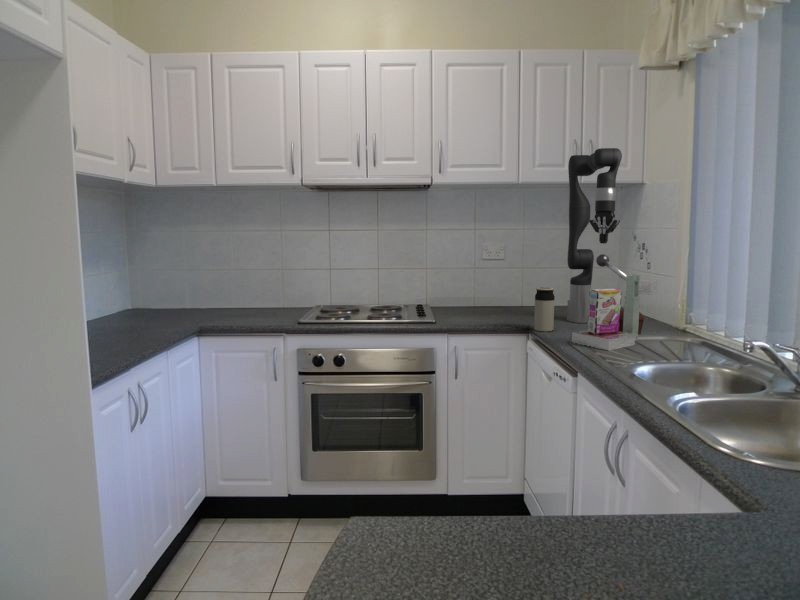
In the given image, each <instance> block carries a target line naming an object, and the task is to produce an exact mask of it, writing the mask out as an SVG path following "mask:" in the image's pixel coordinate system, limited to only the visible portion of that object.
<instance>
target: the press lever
mask: <svg viewBox="0 0 800 600" xmlns="http://www.w3.org/2000/svg"><path fill="white" fill-rule="evenodd" d="M595 263H596V265H598V266H599V267H600V268H601V267H603V268H604V267H607V269H609V270H610V271H612V272H613V273H615V275H617V276H619V277H620V278H621V279H623V281H625V282H626V277H627V275H628V274H626V273H625V272H623V270H621V269H619V268H618V267H616V266H615V265H614V264H613V263H611V262H610V258H609V256H608V255H607V254H604V253H602V254H600V255H598V256H597V257H596V260H595ZM657 286H658V281H657V280H654V279H653V280H652V279H651V280H650V279H640V280H639V283H638V294H639V295H640V294H641V295H648V296H649V295H650V296H651V295H656V294H657V290H658V289H657Z"/></svg>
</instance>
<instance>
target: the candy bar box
mask: <svg viewBox="0 0 800 600" xmlns="http://www.w3.org/2000/svg"><path fill="white" fill-rule="evenodd" d="M622 291H623V290H622V289H618V288H597V289H591V290H590V295H589V313H588V323H587V329H586V330H587V332H588V333H591V334H595V335H596V334H608V333H619V322H620V311H621V309H622V308H621V307H622V305H621V304H622Z"/></svg>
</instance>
